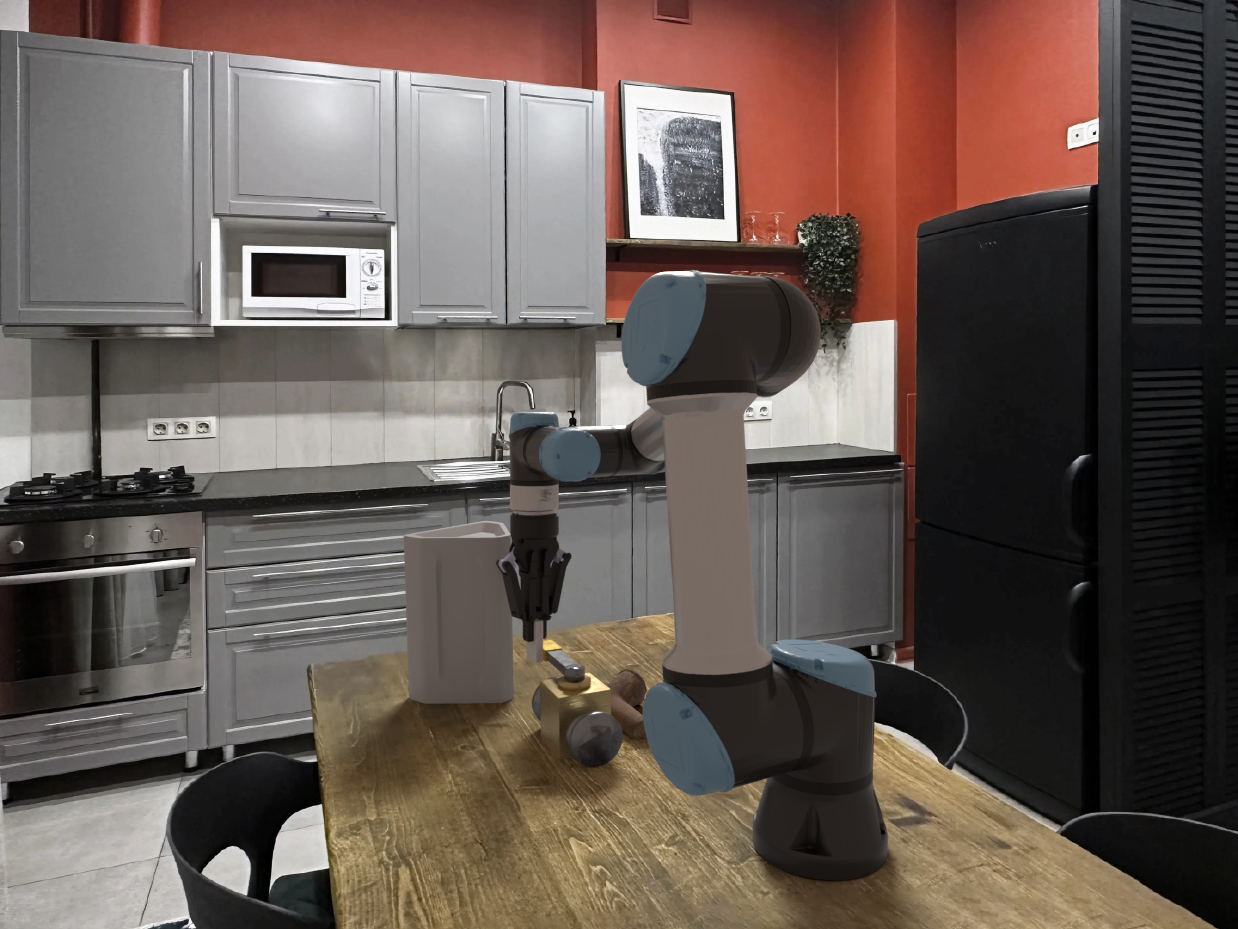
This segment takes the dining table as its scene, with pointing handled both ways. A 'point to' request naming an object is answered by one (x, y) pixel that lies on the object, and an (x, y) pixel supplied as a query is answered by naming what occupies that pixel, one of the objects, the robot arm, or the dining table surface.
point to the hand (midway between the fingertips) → (534, 660)
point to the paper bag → (458, 615)
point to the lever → (562, 662)
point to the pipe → (628, 702)
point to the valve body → (578, 719)
